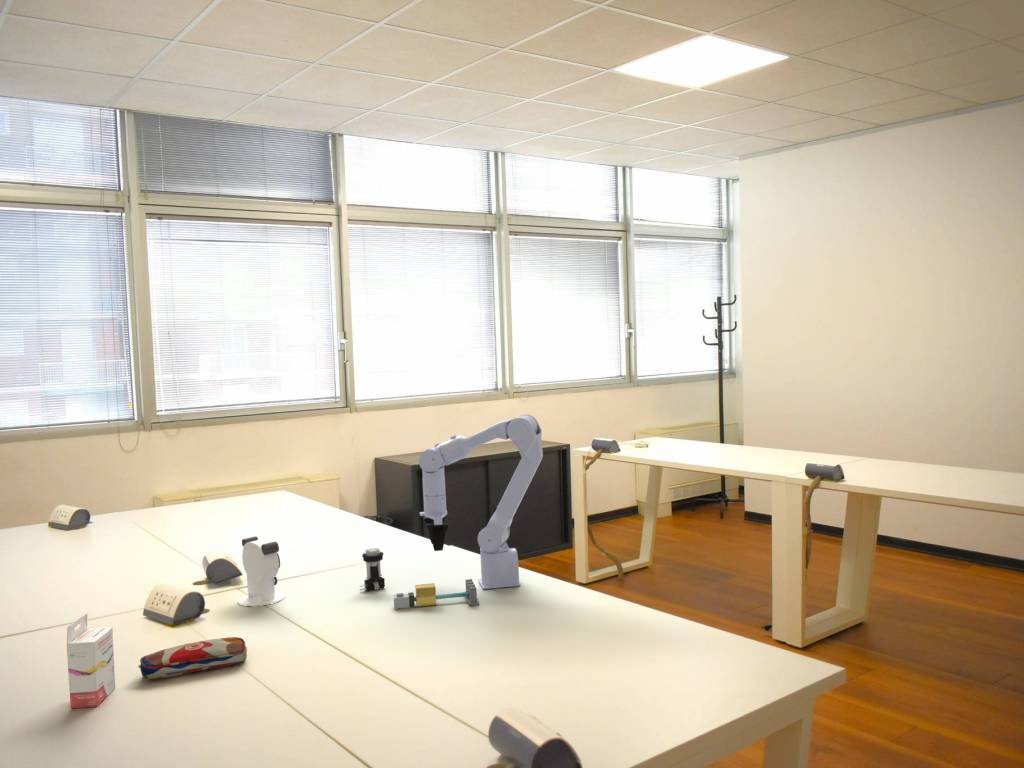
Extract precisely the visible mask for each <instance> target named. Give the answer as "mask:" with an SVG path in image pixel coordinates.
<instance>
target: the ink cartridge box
mask: <svg viewBox="0 0 1024 768" xmlns="http://www.w3.org/2000/svg"><path fill="white" fill-rule="evenodd" d="M78 625H80V627H78V628H77V626H78ZM76 628H77V629H76ZM75 629H76V630H75ZM113 633H114V631H113V627H112V626H105V627H94V628H93V627H91V628H88V613H84V614H83V615H81V616H80V617H79V618H77V619H76V620H74V621H73V622H72V623H70V624H69V625H68V626H67V632H66V654H67V655H66V656H67V657H66V658H67V671H68V687H69V700H70V701H69V703H70V708H71V709H79V708H80V709H81V708H94V707H95V708H96V707H99V705H100V704H101V703H102V702H103V701H105V699H106V698H107V697H108V696H109V695H110V694H112V692H113V691H114V690H116V671H115V657H114V656H115V654H114V636H113Z"/></svg>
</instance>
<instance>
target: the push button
mask: <svg viewBox="0 0 1024 768" xmlns="http://www.w3.org/2000/svg"><path fill="white" fill-rule="evenodd" d="M361 555H362V560H363V561H364V562H365V564H366V565H365V566H366V577H365V579H364V584H362V585H361V584H360V585H359V587H361V588H360V589H359V591H364V590H365V591H367V592H370V590H372V591H375V590H376V589H377V590H380V589H379V588H381V589H382V588H383V589H385V588H386V584H385V583H386V582H385V579H386V578H385V577H382V573H381V572H382V571H381V561H382V560H383V559H384V558H383V556H384V552H383V551H380V548H375V547H374V548H368V549H365V552H363V554H361ZM362 587H363V588H362ZM384 587H385V588H384ZM374 589H375V590H374ZM377 590H376V591H377Z"/></svg>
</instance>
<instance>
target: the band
mask: <svg viewBox="0 0 1024 768" xmlns="http://www.w3.org/2000/svg"><path fill="white" fill-rule="evenodd" d="M407 594H408V595H409V606H410V607H413V608H416V607H415V605H416V602H415V601H414V597H415V593H414V592H413V591H411V592H408V593H407Z"/></svg>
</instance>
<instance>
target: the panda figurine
mask: <svg viewBox="0 0 1024 768" xmlns="http://www.w3.org/2000/svg"><path fill="white" fill-rule="evenodd" d="M241 545H242V547H243V548H242V554H241V555H242V566H243V569H244V571H245V573H246V581H247V595H243V596H242V597H240V598H239V599H238V600H237V604H238V603H239V604H242V605H246V606H259V607H264V606H263V605H266V606H269V605H268V604H271V603H275V602H278V601H280V602H282V601H283V600H282V599H284V598H286V594H285V593H284V592H280V591H275V586H277V585H278V577H277V575H278V572H279V569H280V567H281V560H280V559H281V558H280V555H279V553H278V552H279V551H280V547H279V543H278V542H277V541H272V542H270V540H268V539H263V538H262V539H259V538H258V536H256V535H255V536H250V537H246V538H242V539H241ZM281 600H282V601H281ZM284 600H285V599H284ZM278 603H279V602H278ZM239 604H238V605H239ZM275 604H276V603H275ZM271 605H272V604H271ZM246 606H245V607H246Z"/></svg>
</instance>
